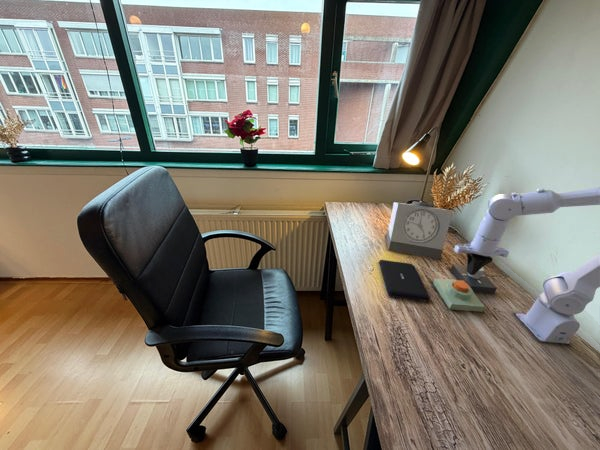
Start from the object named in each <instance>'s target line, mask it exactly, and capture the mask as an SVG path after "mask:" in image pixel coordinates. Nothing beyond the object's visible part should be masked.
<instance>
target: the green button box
mask: <svg viewBox="0 0 600 450" xmlns="http://www.w3.org/2000/svg"><path fill="white" fill-rule="evenodd" d="M456 280H457V279H449V278H437V277H436V278H434V280H433V282H432V284H433V285H434V287H435V289H436V290H437V292H438V293H439V295H440V296H441V298H442V300H443V301H444V303H445V304H446V306H447V307H448V309H449V310H455V311H457V310H458V311H468V312H481V313H482V312H483V311H484V309H485V308H486V307H485V304H484V303H482V301H481V300H480V299H479V297H478V296H477V295H476V294H475V292H473V290H472V289H471V288H470V286H469V288H468V290H467V292H460V291H458V290H456V289H455V288H454V287H453V284H454V282H455V281H456ZM461 281H463V280H461ZM464 282H465V281H464Z"/></svg>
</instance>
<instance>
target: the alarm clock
mask: <svg viewBox="0 0 600 450" xmlns="http://www.w3.org/2000/svg"><path fill="white" fill-rule="evenodd" d="M453 212H454V210H451V209H446V208H439V207H434V206H433V203H429V202H423V201H414V200H413V201H412V203H403V202H396V201H394V202H393V205H392V209H391V216H390V218H389V225H388V229H387V232H386V236H385V237H386V243H387V250H388V251H391V252H395V253H401V254H402V253H403V254H407V255H412V256H419V257H423V258H431V259H435V260H441V259H442V256H443V252H444V248H445V243H446V240H447V236H448V231H449V228H450V224H451V220H452V216H453Z"/></svg>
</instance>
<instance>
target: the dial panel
mask: <svg viewBox="0 0 600 450" xmlns="http://www.w3.org/2000/svg"><path fill="white" fill-rule="evenodd" d="M450 271H451V272H452V273H453V275H454V277H456V279H457V280H463V281H465V283H467V284H468V285H469V286H470V288H471V289H472V290H473V293H480V294H481V293H483V294H495V293H496V291H497V289H498V287H497V286H496V285H495V283H493V281H491V280H490V279H489V277H488V276H487V275H486V274H485V273H483V274H482V276H481V277H480V279H475V278H472V277H470V276H469V275H468V274H467V273H468V272H467V264H466V265H465V264H452V265H451V267H450Z"/></svg>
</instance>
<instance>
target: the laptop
mask: <svg viewBox="0 0 600 450" xmlns="http://www.w3.org/2000/svg"><path fill="white" fill-rule="evenodd" d="M378 264H379V267H380V271H381V274H382V275H381V276H382V278H383V282H384V285H385V289H386V293H387V295H388V296H389V297H393V298H399V299H407V300H414V301H422V302H428V301H431V298H430V295H429V292H428V291H427V289H426V287H425V285H424V283H423V281H422V279H421V276H420V275H419V273H418V270H417V268H416V267H415V265H413V263H409V262H402V261H394V260H386V259H380V260H379V261H378Z"/></svg>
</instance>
